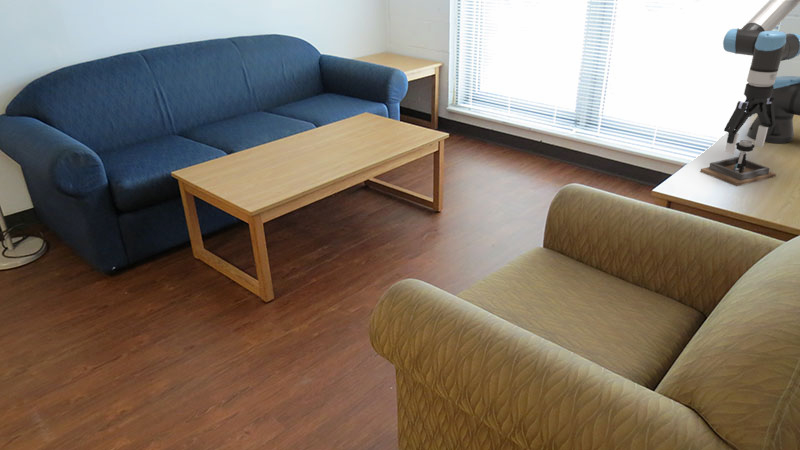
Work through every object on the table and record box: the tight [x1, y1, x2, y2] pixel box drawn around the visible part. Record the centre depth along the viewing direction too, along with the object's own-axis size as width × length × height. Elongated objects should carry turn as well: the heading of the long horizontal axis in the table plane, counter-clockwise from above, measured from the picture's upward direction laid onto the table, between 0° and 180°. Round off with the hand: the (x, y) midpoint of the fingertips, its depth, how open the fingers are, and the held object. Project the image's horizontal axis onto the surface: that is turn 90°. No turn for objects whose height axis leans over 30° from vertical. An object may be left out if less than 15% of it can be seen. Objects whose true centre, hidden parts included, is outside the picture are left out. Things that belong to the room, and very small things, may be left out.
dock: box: [699, 156, 777, 187], centre depth 197 cm, size 18×14×3 cm
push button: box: [734, 139, 756, 173], centre depth 195 cm, size 7×5×10 cm
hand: (744, 149), depth 193 cm, fingers open, 13 cm apart
